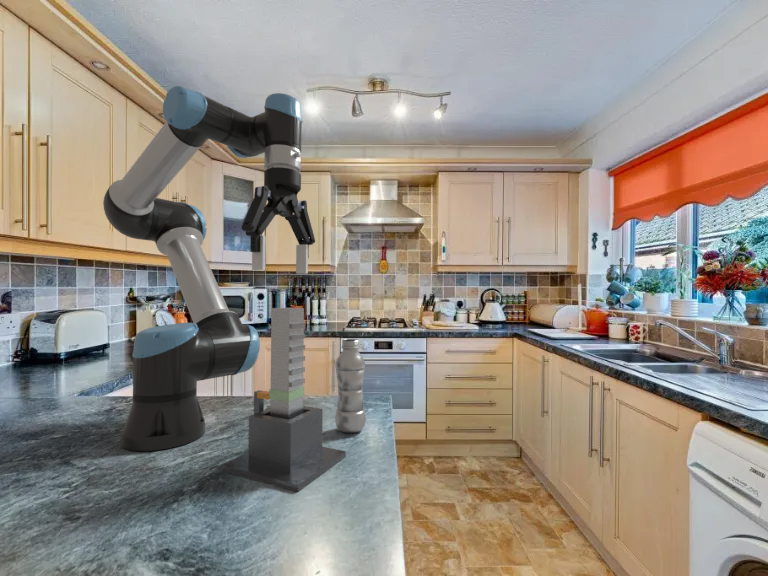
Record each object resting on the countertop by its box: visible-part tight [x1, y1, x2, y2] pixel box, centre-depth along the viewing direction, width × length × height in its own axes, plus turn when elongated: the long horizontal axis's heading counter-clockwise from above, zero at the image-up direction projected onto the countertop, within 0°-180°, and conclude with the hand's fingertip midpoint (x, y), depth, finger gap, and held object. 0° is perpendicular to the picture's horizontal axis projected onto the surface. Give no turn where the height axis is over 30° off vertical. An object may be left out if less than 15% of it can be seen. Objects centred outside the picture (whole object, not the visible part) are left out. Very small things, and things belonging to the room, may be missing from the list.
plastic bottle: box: [334, 338, 366, 434], centre depth 84 cm, size 6×7×20 cm
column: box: [268, 307, 306, 420], centre depth 68 cm, size 5×4×20 cm
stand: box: [221, 390, 347, 492], centre depth 68 cm, size 16×14×12 cm
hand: (281, 272), depth 80 cm, fingers open, 13 cm apart
